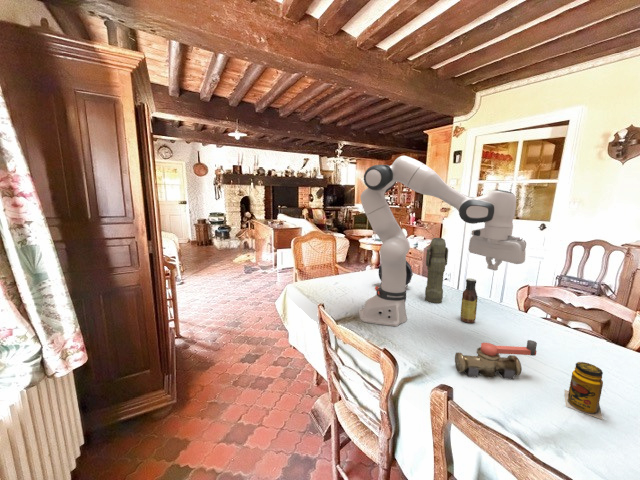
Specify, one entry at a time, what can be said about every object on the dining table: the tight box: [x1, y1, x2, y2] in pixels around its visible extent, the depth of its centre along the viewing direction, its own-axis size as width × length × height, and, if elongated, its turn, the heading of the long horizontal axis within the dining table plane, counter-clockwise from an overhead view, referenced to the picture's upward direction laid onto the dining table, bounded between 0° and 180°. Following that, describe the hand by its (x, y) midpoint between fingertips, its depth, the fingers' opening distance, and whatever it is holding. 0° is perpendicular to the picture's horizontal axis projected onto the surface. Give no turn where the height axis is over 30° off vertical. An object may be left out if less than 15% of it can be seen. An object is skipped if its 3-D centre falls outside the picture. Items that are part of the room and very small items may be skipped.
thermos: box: [424, 237, 449, 305], centre depth 145 cm, size 9×12×35 cm
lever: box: [480, 339, 538, 357], centre depth 87 cm, size 4×16×4 cm, turn 85°
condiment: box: [564, 361, 604, 421], centre depth 74 cm, size 7×8×12 cm
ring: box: [378, 260, 414, 286], centre depth 166 cm, size 11×20×20 cm, turn 89°
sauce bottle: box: [460, 278, 479, 324], centre depth 123 cm, size 6×6×20 cm
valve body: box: [454, 346, 523, 380], centre depth 88 cm, size 18×6×7 cm, turn 85°
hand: (492, 269), depth 103 cm, fingers closed
